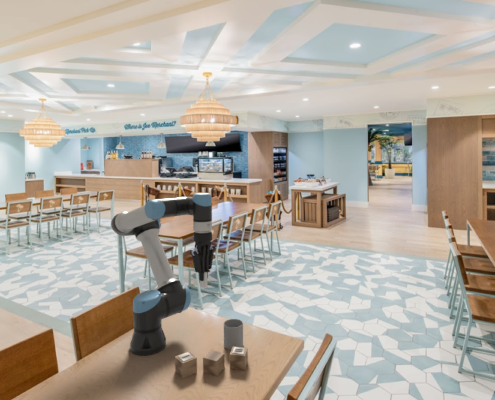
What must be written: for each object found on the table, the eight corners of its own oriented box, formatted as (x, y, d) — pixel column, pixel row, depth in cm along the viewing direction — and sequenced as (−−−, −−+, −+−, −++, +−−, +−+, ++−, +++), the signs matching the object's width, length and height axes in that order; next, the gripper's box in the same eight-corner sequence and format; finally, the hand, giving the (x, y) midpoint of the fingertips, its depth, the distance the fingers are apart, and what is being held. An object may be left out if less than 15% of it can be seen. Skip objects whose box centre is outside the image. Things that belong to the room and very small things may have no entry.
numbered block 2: (229, 369, 133) (229, 353, 133) (233, 360, 139) (232, 345, 138) (244, 370, 132) (244, 355, 131) (247, 361, 138) (247, 346, 137)
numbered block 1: (175, 371, 132) (174, 355, 131) (189, 365, 136) (188, 350, 135) (183, 378, 127) (182, 362, 127) (197, 372, 131) (196, 356, 130)
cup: (240, 351, 146) (240, 328, 145) (221, 349, 148) (221, 326, 147) (244, 341, 154) (244, 319, 153) (226, 339, 156) (226, 318, 155)
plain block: (203, 372, 131) (202, 357, 130) (211, 364, 136) (211, 349, 136) (216, 376, 129) (216, 361, 128) (224, 367, 134) (224, 353, 133)
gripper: (198, 234, 132) (199, 294, 134) (220, 229, 142) (220, 284, 145) (184, 232, 136) (185, 290, 138) (206, 227, 147) (207, 281, 149)
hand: (203, 287), depth 142 cm, fingers closed
